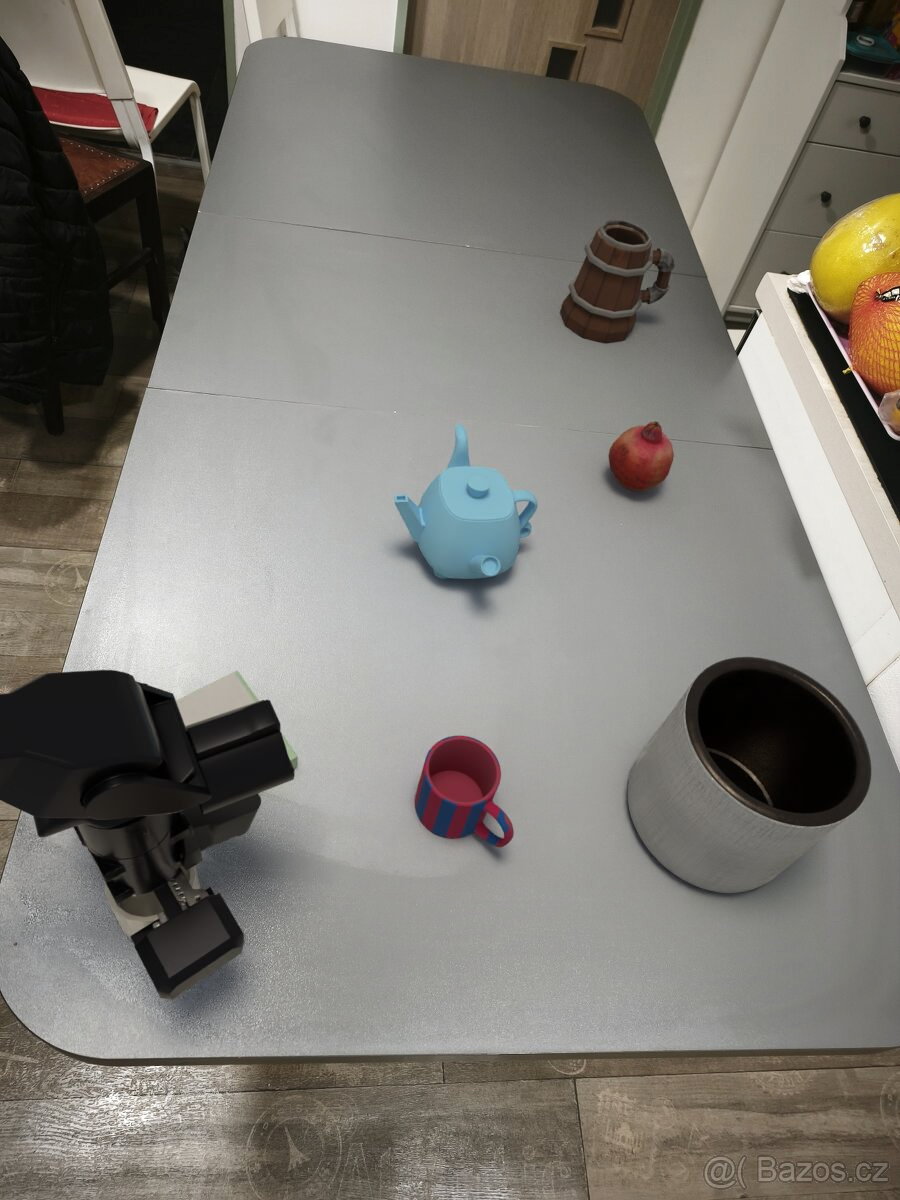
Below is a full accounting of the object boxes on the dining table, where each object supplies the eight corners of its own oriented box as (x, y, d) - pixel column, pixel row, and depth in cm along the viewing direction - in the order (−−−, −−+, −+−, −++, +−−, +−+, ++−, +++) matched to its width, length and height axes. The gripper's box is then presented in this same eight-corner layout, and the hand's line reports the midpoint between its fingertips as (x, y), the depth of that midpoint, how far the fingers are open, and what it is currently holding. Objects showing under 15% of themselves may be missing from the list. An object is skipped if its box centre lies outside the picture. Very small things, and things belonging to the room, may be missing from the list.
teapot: (371, 548, 93) (380, 475, 85) (445, 491, 101) (460, 418, 92) (477, 623, 89) (497, 554, 80) (545, 557, 97) (570, 488, 88)
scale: (187, 832, 70) (184, 820, 68) (129, 735, 74) (125, 722, 73) (298, 767, 75) (299, 755, 73) (238, 681, 80) (237, 667, 78)
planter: (814, 883, 76) (913, 813, 64) (658, 911, 72) (733, 842, 60) (742, 732, 85) (816, 646, 73) (601, 749, 81) (655, 661, 69)
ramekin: (139, 963, 63) (128, 939, 58) (104, 894, 65) (90, 867, 61) (216, 914, 66) (210, 888, 61) (179, 851, 69) (171, 821, 64)
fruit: (671, 495, 107) (701, 436, 100) (625, 511, 104) (652, 452, 96) (634, 456, 111) (660, 396, 104) (588, 471, 108) (611, 410, 100)
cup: (459, 759, 78) (471, 723, 73) (522, 845, 74) (540, 813, 68) (400, 791, 75) (409, 756, 70) (462, 884, 71) (476, 854, 65)
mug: (570, 341, 127) (598, 249, 115) (554, 298, 134) (579, 207, 122) (663, 347, 130) (700, 258, 118) (643, 304, 137) (676, 217, 126)
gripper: (313, 863, 52) (308, 937, 64) (178, 660, 60) (196, 759, 72) (147, 971, 47) (176, 1029, 59) (23, 731, 55) (70, 826, 67)
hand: (158, 898), depth 64 cm, fingers closed on ramekin, 6 cm apart
